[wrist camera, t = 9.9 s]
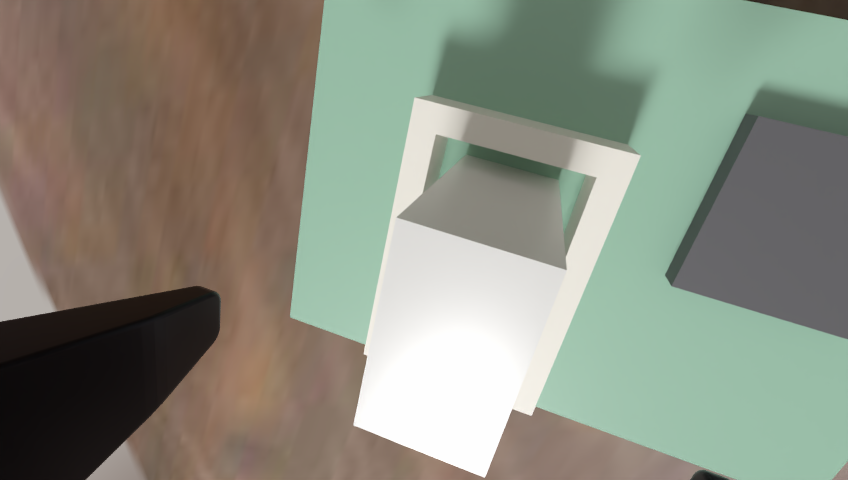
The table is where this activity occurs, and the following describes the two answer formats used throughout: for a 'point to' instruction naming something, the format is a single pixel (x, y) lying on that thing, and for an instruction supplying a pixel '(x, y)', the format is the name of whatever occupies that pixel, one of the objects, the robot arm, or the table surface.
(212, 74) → the table surface
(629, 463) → the table surface
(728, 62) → the board
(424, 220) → the plug
